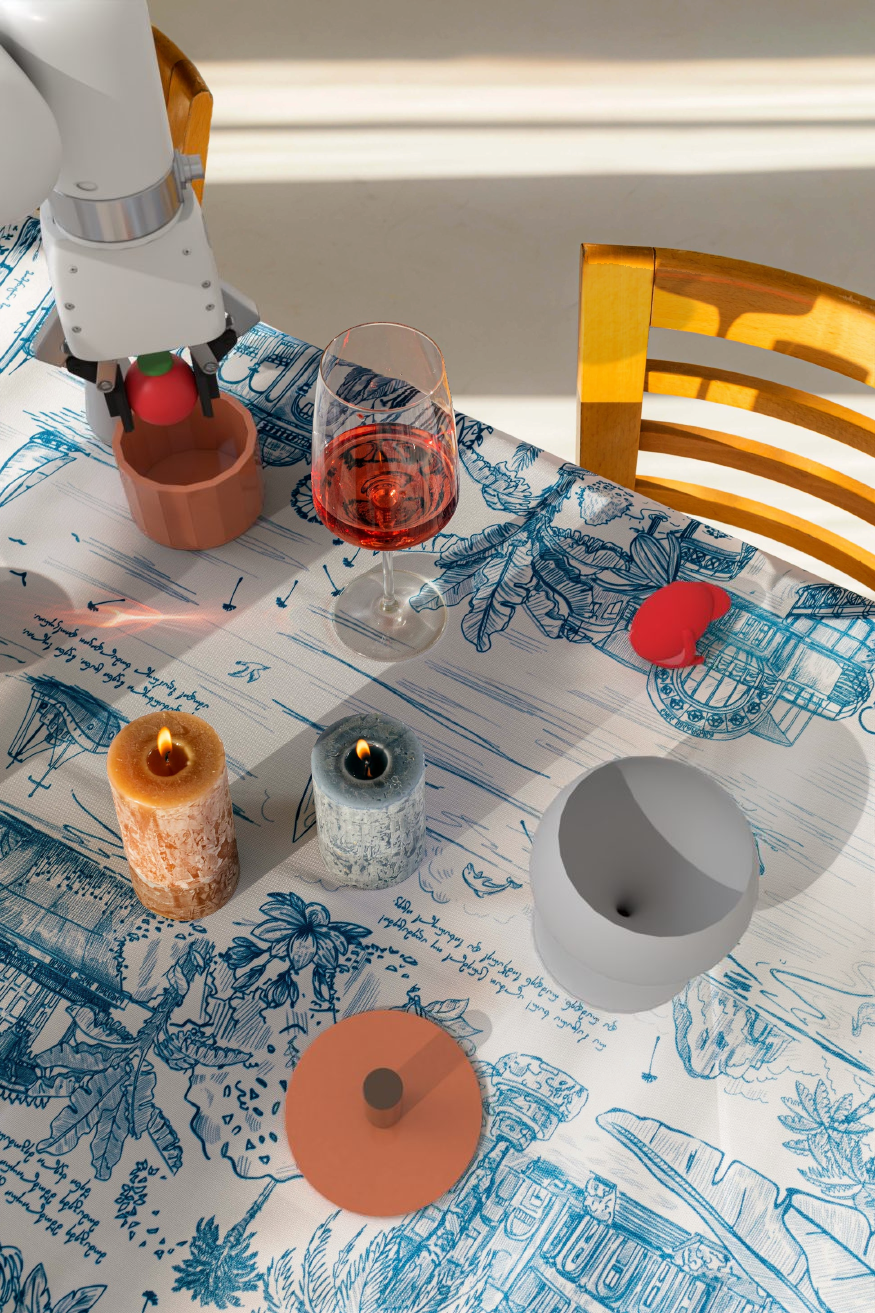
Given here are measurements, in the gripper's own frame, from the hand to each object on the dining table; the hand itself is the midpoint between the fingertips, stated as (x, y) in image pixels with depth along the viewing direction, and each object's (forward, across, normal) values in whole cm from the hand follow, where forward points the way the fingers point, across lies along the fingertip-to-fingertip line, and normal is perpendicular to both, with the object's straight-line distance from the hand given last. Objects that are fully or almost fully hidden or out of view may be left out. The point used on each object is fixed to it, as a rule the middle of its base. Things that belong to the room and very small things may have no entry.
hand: (166, 409), depth 84 cm
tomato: (0, 0, 0) cm, 0 cm away
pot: (+18, -1, -7) cm, 19 cm away
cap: (+18, -35, +18) cm, 43 cm away
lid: (+17, -4, +46) cm, 49 cm away
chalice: (+18, -22, +39) cm, 48 cm away
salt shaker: (+18, +4, -16) cm, 24 cm away
